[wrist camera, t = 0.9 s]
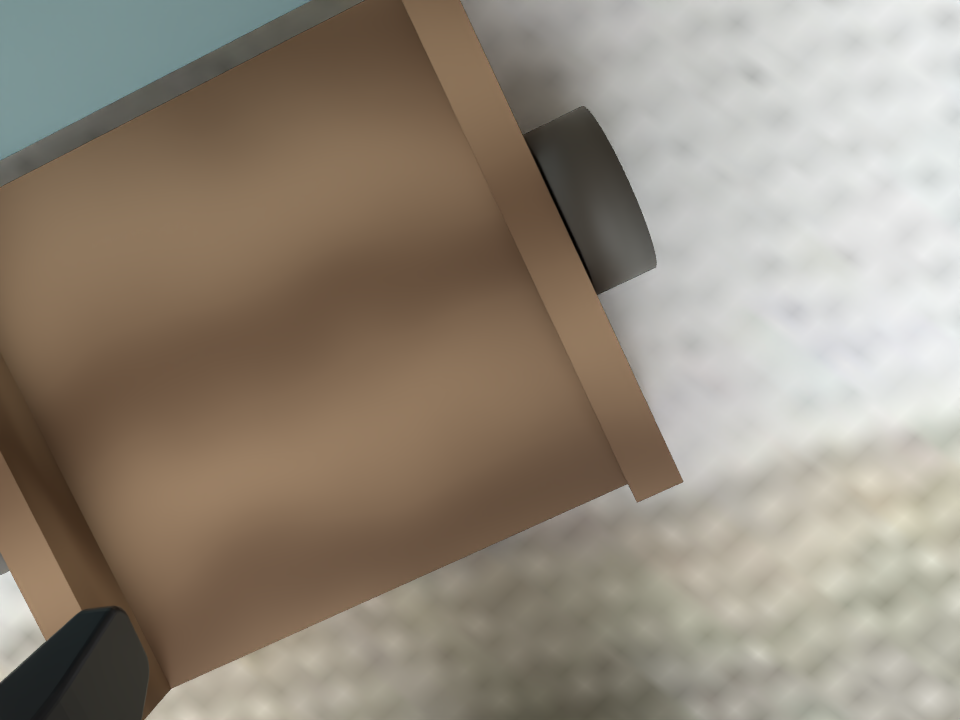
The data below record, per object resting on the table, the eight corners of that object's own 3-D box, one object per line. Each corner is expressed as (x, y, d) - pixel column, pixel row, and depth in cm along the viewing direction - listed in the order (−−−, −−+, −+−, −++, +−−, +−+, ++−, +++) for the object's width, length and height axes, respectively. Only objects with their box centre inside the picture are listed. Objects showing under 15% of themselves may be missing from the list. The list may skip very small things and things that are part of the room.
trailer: (715, 424, 25) (754, 455, 21) (112, 696, 27) (31, 777, 23) (501, -41, 25) (495, -110, 20) (-107, 269, 26) (-234, 267, 22)
